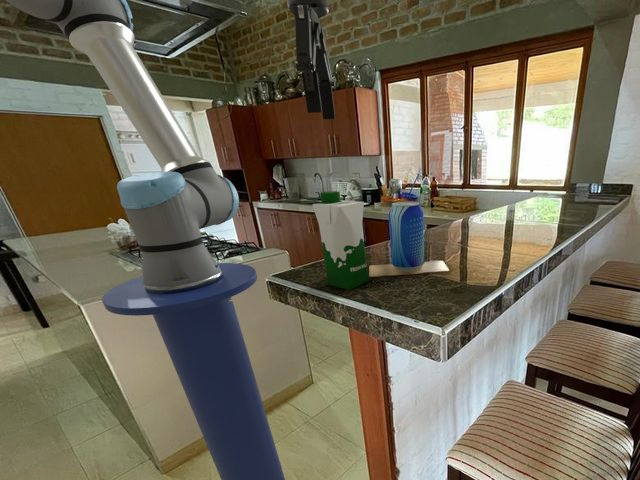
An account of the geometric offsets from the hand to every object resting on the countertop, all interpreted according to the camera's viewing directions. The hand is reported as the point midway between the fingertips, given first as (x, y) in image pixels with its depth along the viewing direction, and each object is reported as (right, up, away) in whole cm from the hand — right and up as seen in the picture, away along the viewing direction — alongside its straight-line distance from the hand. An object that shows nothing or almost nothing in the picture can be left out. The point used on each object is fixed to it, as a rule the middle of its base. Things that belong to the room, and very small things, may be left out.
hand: (322, 116), depth 72 cm
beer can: (+18, -31, +15) cm, 39 cm away
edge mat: (+18, -31, +15) cm, 39 cm away
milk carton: (+4, -35, +6) cm, 36 cm away
